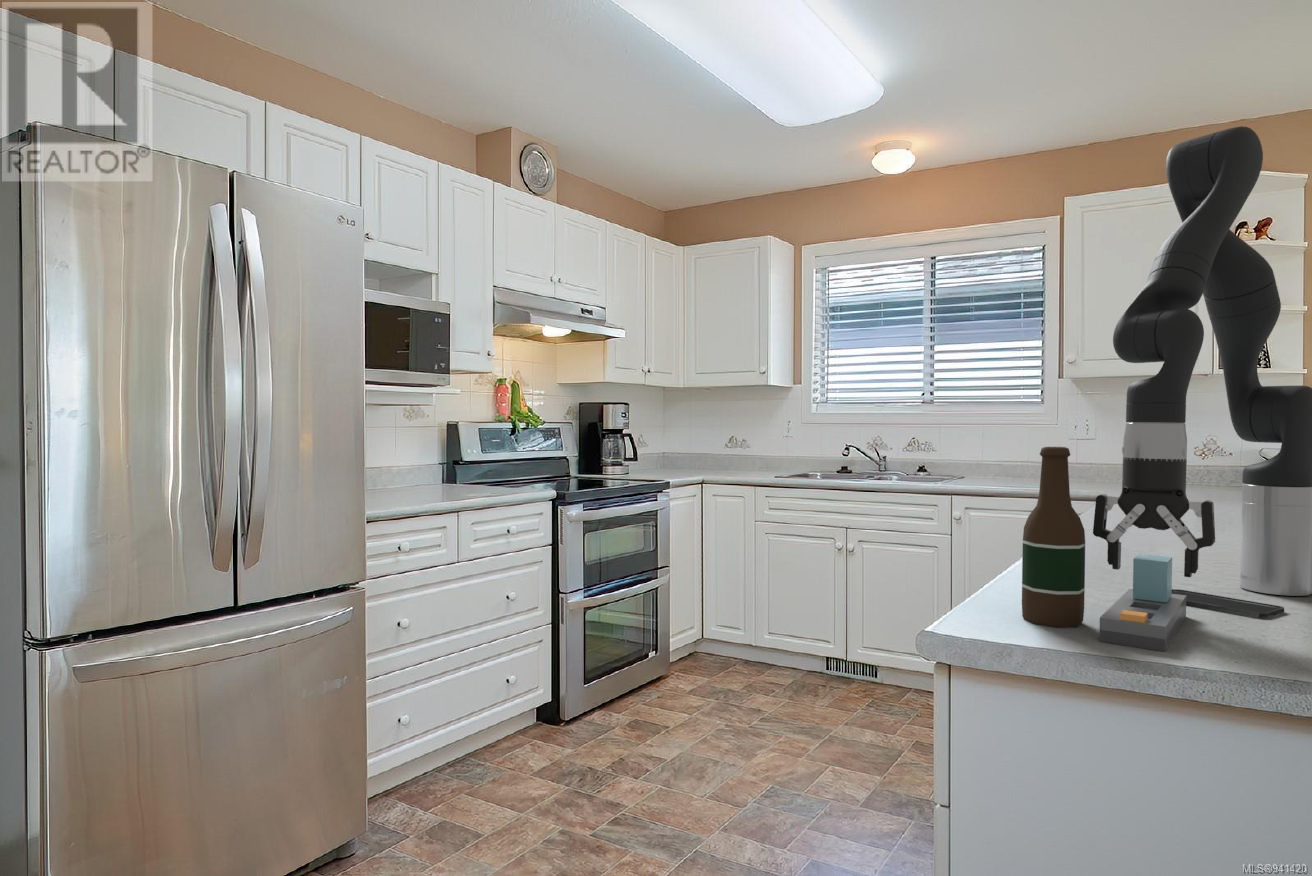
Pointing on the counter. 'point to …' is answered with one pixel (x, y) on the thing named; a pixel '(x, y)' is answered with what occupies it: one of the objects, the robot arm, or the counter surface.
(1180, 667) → the counter surface
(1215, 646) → the counter surface
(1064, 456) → the beer bottle
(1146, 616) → the power strip
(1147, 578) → the block
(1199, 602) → the phone
